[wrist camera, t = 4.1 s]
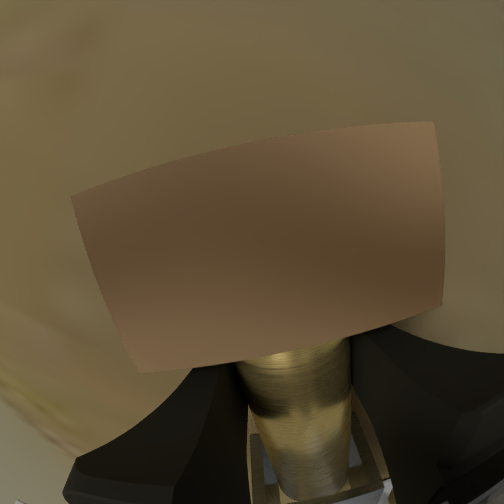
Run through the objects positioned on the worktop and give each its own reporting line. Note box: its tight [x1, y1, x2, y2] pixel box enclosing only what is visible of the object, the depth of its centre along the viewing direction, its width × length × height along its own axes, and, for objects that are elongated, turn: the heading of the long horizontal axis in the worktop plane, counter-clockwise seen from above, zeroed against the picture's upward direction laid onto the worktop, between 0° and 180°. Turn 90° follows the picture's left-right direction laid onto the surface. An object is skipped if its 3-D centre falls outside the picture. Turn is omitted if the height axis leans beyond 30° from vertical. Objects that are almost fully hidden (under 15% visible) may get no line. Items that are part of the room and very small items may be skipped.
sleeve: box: [250, 412, 385, 504], centre depth 12 cm, size 6×6×5 cm
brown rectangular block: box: [71, 121, 445, 373], centre depth 7 cm, size 4×7×5 cm, turn 102°
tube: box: [234, 336, 351, 501], centre depth 9 cm, size 13×4×4 cm, turn 12°
